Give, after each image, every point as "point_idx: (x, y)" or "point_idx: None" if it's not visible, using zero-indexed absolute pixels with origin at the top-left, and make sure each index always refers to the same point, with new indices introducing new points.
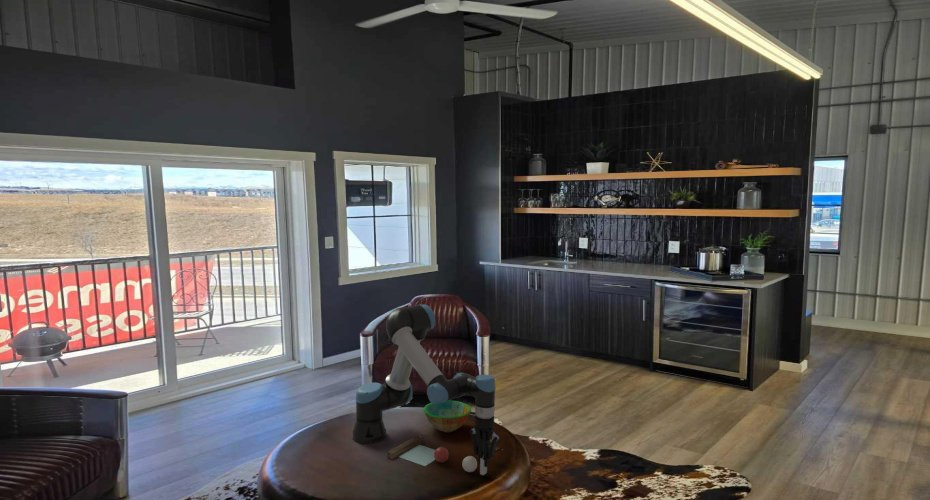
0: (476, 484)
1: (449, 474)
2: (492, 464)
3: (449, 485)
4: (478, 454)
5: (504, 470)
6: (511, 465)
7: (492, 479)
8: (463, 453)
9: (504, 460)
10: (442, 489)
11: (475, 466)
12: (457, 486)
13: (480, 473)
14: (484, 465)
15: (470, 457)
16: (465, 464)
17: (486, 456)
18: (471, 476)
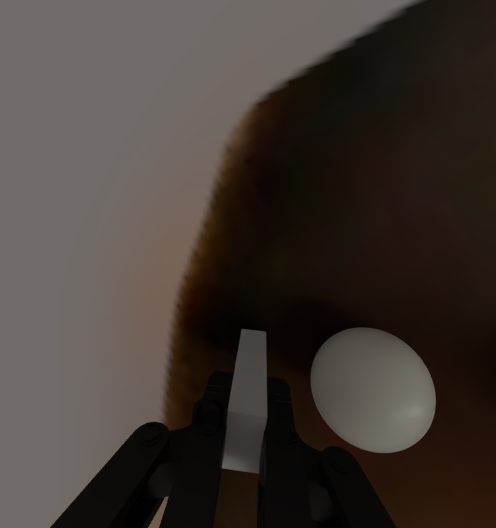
0: (243, 230)
1: (460, 263)
2: None
3: (407, 126)
4: (297, 454)
5: None
6: None
7: (186, 327)
8: (461, 509)
9: (223, 519)
10: (437, 41)
11: (313, 370)
12: (348, 142)
13: (262, 334)
14: (232, 378)
15: (385, 425)
16: (392, 348)
17: (185, 445)
18: (314, 304)
